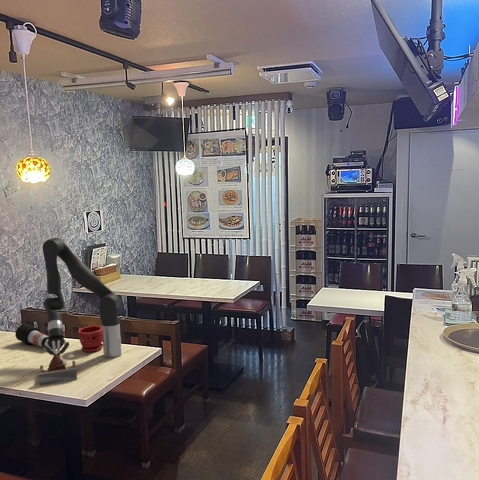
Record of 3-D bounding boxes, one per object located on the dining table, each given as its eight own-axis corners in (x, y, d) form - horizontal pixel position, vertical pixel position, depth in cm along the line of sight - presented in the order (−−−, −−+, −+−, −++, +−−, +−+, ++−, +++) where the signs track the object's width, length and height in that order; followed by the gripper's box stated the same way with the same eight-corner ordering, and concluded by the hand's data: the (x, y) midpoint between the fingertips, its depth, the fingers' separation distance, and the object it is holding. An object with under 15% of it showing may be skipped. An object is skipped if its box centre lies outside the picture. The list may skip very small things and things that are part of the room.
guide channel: (40, 370, 236) (39, 360, 236) (75, 365, 242) (74, 355, 242) (39, 385, 218) (38, 374, 218) (77, 379, 224) (76, 369, 224)
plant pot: (95, 344, 275) (94, 324, 273) (108, 348, 266) (107, 328, 265) (74, 350, 265) (73, 329, 263) (88, 355, 256) (86, 333, 255)
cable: (55, 360, 263) (48, 347, 257) (20, 344, 281) (12, 331, 275) (69, 347, 269) (62, 335, 264) (33, 332, 287) (26, 320, 282)
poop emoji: (44, 372, 234) (43, 354, 233) (61, 367, 240) (60, 349, 239) (52, 377, 227) (51, 359, 226) (70, 372, 233) (68, 354, 231)
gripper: (41, 328, 241) (42, 360, 231) (68, 325, 246) (71, 356, 236) (42, 335, 247) (43, 366, 237) (69, 332, 252) (71, 362, 242)
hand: (57, 361), depth 237 cm, fingers closed
